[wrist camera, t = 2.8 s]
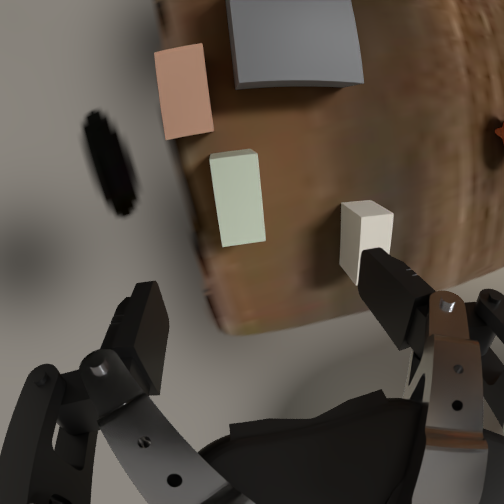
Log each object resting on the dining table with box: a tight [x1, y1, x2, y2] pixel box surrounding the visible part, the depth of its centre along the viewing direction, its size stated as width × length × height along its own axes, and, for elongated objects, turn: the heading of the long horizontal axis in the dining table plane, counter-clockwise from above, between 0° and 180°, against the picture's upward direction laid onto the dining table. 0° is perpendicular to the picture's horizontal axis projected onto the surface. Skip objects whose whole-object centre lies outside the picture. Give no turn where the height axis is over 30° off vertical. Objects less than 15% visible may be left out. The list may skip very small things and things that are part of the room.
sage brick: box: [209, 149, 266, 247], centre depth 23 cm, size 7×4×4 cm, turn 6°
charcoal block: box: [225, 0, 364, 90], centre depth 17 cm, size 10×10×4 cm
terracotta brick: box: [154, 43, 214, 140], centre depth 19 cm, size 7×4×4 cm, turn 7°
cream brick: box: [339, 200, 394, 285], centre depth 26 cm, size 7×4×4 cm, turn 6°
